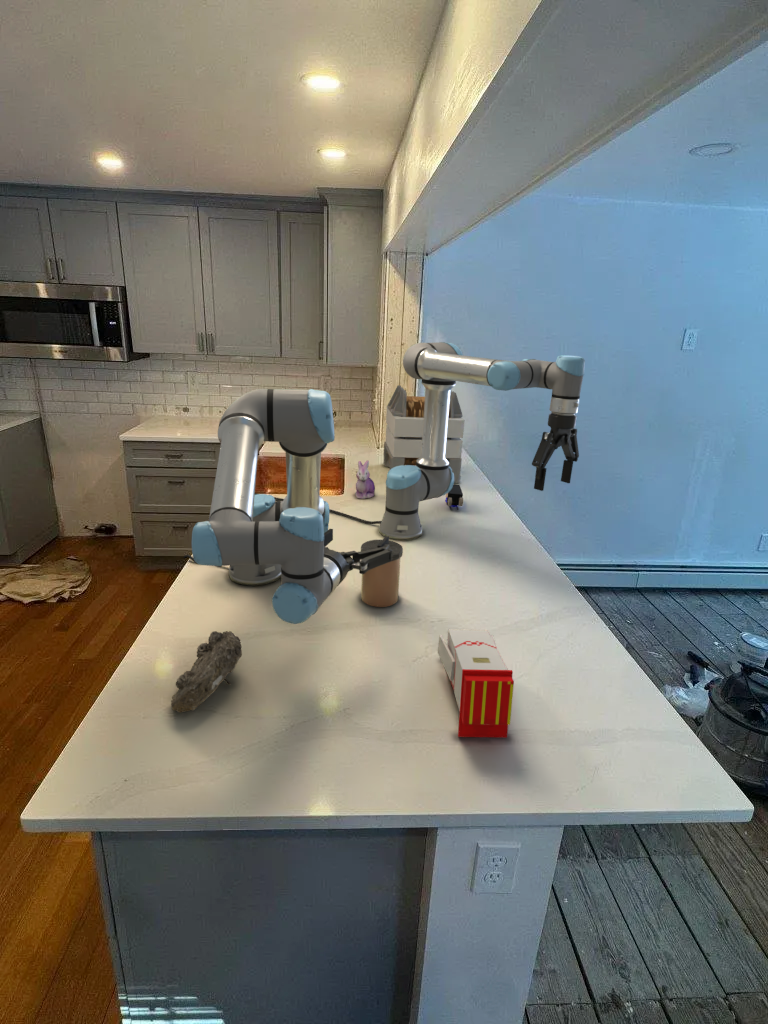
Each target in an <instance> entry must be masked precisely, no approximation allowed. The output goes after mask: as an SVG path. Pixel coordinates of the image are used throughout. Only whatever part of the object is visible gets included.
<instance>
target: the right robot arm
mask: <svg viewBox="0 0 768 1024" xmlns="http://www.w3.org/2000/svg"><path fill="white" fill-rule="evenodd" d="M585 365H586V360H585V358H584V357H582V356H578V355H566V354H565V355H564V354H563V355H558V356H557V357H556V360H555V361H549V360H541V359H536V358H524V359H521V360H506V359H505V360H504V359H503V360H502V359H496V358H487V357H479V356H471V355H464V354H463V352H462V350H461V349H460V347H459V346H457V345H456V344H455V343H451V342H445V341H443V342H442V341H441V342H440V341H439V342H438V341H437V342H417V343H414V344H412V345H411V346H409V347H408V348H407V350H406V351H405V353H404V355H403V358H402V366H403V369H404V372H405V373H406V374H407V375H408V376H409V377H411V378H412V379H415V380H421V385H422V386H423V387H424V389H425V392H424V397H425V404H424V419H423V434H422V449H421V457H420V458H418V459H417V461H416V466H413V465H401V466H396V467H394V468H392V469H390V468H389V470H388V472H387V474H386V479H385V504H384V505H385V507H384V508H385V509H384V513H383V515H382V519H381V520H373V521H372V520H365V519H362V518H359V517H357V516H353V515H349V514H347V513H344V512H341V511H338V510H334V509H330V508H329V513H333V514H336V515H339V516H342V517H346V518H348V519H352V520H355V521H358V522H361V523H363V524H368V525H378V524H379V526H378V533H379V534H380V535H381V536H382V537H383V538H384V537H385V536H389V540H395V541H410V540H415V539H418V538H420V537H421V536H422V535H423V525H422V524H421V518H420V515H419V507H420V506H419V505H420V502H423V501H427V500H431V499H437V498H440V497H443V496H446V494H447V493H448V492H449V491H450V490H451V489H452V487H453V484H455V483H454V473H452V469H451V467H450V466H449V462H448V461H447V459H446V458H445V453H446V441H447V428H448V416H449V404H450V392H451V391H452V389H453V388H454V387H455V386H456V384H457V382H461V383H465V384H473V385H479V386H487V387H491V388H492V389H494V390H496V391H503V392H504V391H511V390H520V389H532V388H533V389H534V388H539V389H546V390H551V398H550V404H549V413H548V418H547V419H548V420H547V426H548V427H549V428H550V431H549V432H548V431H543V432H542V435H541V440H540V442H539V445H538V447H537V449H536V452H535V454H534V457H533V460H532V461H531V466H533V467H535V475H534V477H535V478H534V485H533V489H534V490H537V491H539V492H543V491H544V489H545V484H546V483H545V482H546V476H547V468H546V466H547V465H548V463H549V461H550V459H551V457H552V456H553V454H554V453H555V451H556V450H557V449H558V448H560V447H561V449H562V452H563V455H564V458H565V459H563V463H562V468H561V469H562V470H561V475H560V482H562V483H566V484H571V478H572V472H573V466H574V463H576V462H578V461H579V457H580V453H579V444H578V428H576V423H577V419H578V416H577V414H578V412H579V411H578V410H579V406H580V397H581V391H582V385H583V380H584V376H585ZM257 494H258V492H255V495H257ZM273 497H274V499H275V501H283V500H284V498H282V497H281V498H280V497H277V496H276V497H275V496H273Z"/></svg>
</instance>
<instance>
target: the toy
mask: <svg viewBox="0 0 768 1024" xmlns="http://www.w3.org/2000/svg"><path fill="white" fill-rule="evenodd" d="M446 640H447V643H446V641H445V639H444V636H443V635H442V634H439V637H438V646H437V656H438V657H439V659H440V661H441V663H442V666H443V668H444V670H445V672H446V674H447V677H448V679H449V681H450V684H451V687H452V690H453V693H454V697H455V701H456V705H457V708H458V711H459V714H458V715H459V716H458V730H457V731H458V732H457V737H458V738H508V731H509V726H510V725H511V717H512V707H513V697H514V696H513V695H514V684H515V680H514V679H513V673H514V671H513V670H512V669H508V667H507V665H506V662H505V661H504V659H503V658H502V655H501V653H500V651H499V649H498V647H497V643H496V639H495V637H494V635H493V634H491V632H490V631H489V629H467V628H466V629H465V628H463V629H461V628H460V629H459V628H448V630H447V639H446Z"/></svg>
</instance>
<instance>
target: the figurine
mask: <svg viewBox="0 0 768 1024" xmlns="http://www.w3.org/2000/svg"><path fill="white" fill-rule="evenodd" d="M369 465H370V461H369V460H366V461H365V462H364V464H363V463H362V461H361V460H358V462H357V468H358V470H357V472H356V478H357V481H356V483H355V493H354V494H355V498H357V499H363V500H364V499H370V498H373V497H374V496H375V492H376V486H375V482H374V480H373V479H372V478H371V477H370V476H371V474H370V471H369V469H368V468H369Z"/></svg>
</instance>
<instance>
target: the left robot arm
mask: <svg viewBox="0 0 768 1024" xmlns="http://www.w3.org/2000/svg"><path fill="white" fill-rule="evenodd" d="M335 438H336V437H335V422H334V411H333V403H332V397H331V394H330V393H329V392H328V391H326V390H318V389H313V388H310V389H292V388H291V389H290V388H289V389H288V388H287V389H285V388H257V389H253V390H250V391H248V392H246V393H244V394H242V395H240V396H239V397H238V398H237V399H235V400H234V401H233V402H231V404H230V405H229V406H228V407H227V408H226V409H225V411H224V412H223V414H222V416H221V417H220V421H219V423H218V427H217V439H218V441H219V443H220V448H219V454H218V460H217V467H216V471H215V478H214V484H213V490H212V491H213V492H212V498H211V504H210V510H209V517H208V520H205V521H198V522H196V523H195V524H194V526H193V527H192V532H191V554H192V555H190V554H185V555H184V556H183V557H182V558H183V559H187V558H188V559H190V560H191V561H192V562H194V563H196V564H197V565H199V566H209V567H225V566H229V567H228V577H229V579H230V580H231V581H232V582H234V583H236V584H238V585H242V586H249V587H250V586H252V587H253V586H254V587H255V586H256V587H257V586H265V585H268V584H271V583H274V582H276V581H278V580H279V579H281V583H280V585H278V587H277V588H276V590H275V591H274V592H273V595H272V598H271V604H272V605H271V606H272V609H273V611H274V613H275V614H276V616H277V617H278V618H279V619H280V620H282V621H283V622H285V623H287V624H291V625H297V624H298V625H299V624H302V623H305V622H306V621H307V620H308V619H309V618H311V617H312V616H314V615H315V614H316V613H317V611H318V609H320V607H321V606H322V604H324V603H325V601H326V600H327V599H328V598H329V597H330V596H331V595H332V593H333V592H335V590H336V589H337V587H339V585H340V584H341V583H342V582H343V581H344V580H345V579H346V578H347V575H348V573H349V572H351V571H353V570H358V571H359V573H358V574H360V575H362V574H365V573H366V572H367V571H368V570H371V569H373V568H376V567H378V566H381V565H383V564H386V563H388V562H391V561H392V550H391V549H389V540H390V538H389V536H385V537H384V536H383V538H382V539H381V540H382V541H381V542H380V543H379V544H378V545H377V548H375V549H370V550H365V551H361V550H360V551H356V550H351V551H346V552H345V551H341V552H340V551H337V550H334V549H330V548H329V546H328V545H329V544H330V543H332V541H333V540H334V528H329V524H330V512H329V509H330V504H329V503H328V502H327V501H326V500H324V499H323V497H322V496H321V495H320V491H321V490H320V489H321V469H322V467H321V465H322V452H323V451H325V449H326V448H327V446H328V444H330V443H333V442H334V441H335ZM264 442H269V443H271V442H272V443H273V442H274V443H278V444H279V446H280V448H281V449H282V451H284V453H285V475H286V496H285V497H284V498H283V499H284V500H283V501H279V500H275V499H274V497H275V496H274V495H272V494H267V493H257V495H255V493H256V482H257V472H258V471H257V469H258V459H259V458H258V457H259V449H260V448H261V447H262V446H263V444H264Z"/></svg>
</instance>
